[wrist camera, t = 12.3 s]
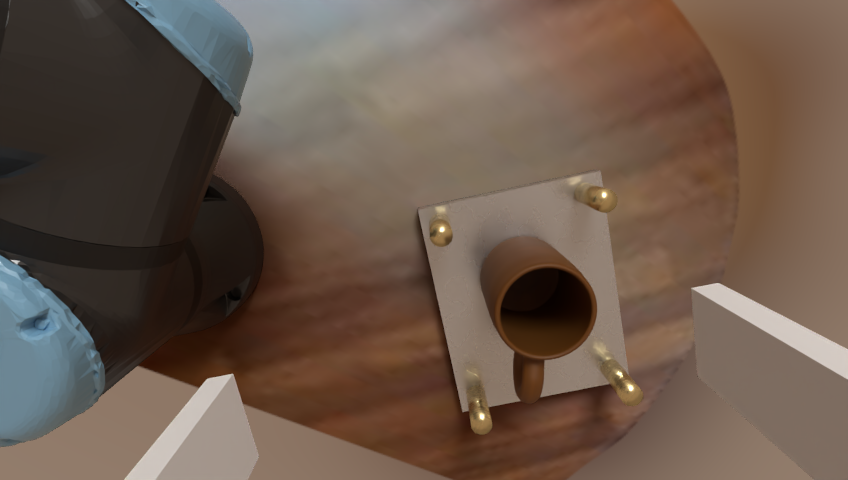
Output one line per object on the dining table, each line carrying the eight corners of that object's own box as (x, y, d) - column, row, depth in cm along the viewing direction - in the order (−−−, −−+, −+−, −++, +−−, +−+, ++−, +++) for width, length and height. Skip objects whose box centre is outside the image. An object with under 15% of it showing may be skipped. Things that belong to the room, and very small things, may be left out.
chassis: (461, 403, 48) (466, 444, 42) (418, 207, 44) (416, 220, 37) (623, 372, 47) (653, 409, 41) (594, 169, 43) (623, 176, 37)
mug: (550, 362, 45) (581, 421, 36) (469, 356, 45) (480, 413, 36) (569, 237, 43) (608, 266, 34) (483, 230, 43) (499, 257, 33)
